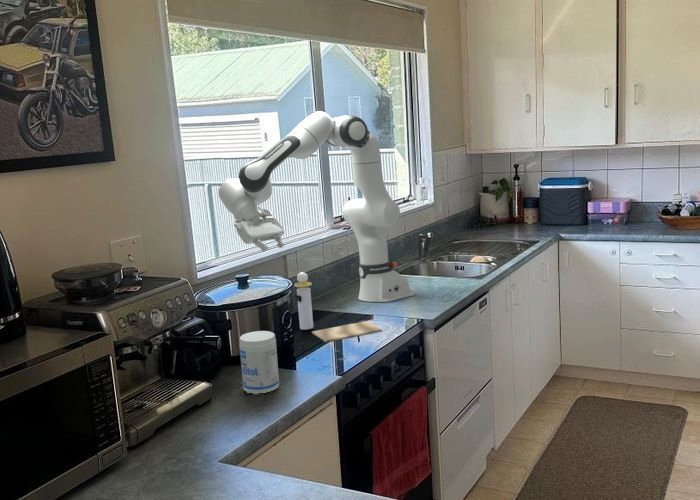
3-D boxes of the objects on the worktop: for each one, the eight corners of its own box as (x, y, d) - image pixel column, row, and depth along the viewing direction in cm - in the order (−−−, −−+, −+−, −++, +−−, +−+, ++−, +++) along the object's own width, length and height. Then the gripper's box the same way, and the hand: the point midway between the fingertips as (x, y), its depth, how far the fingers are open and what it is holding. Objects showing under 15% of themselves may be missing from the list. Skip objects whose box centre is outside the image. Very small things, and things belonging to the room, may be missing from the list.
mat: (366, 322, 238) (366, 321, 238) (381, 331, 227) (381, 329, 227) (312, 333, 231) (311, 331, 230) (325, 342, 220) (325, 340, 220)
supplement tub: (236, 393, 182) (231, 340, 179) (255, 380, 190) (250, 329, 188) (268, 397, 178) (263, 342, 175) (286, 384, 186) (281, 331, 184)
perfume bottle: (311, 326, 239) (306, 269, 235) (318, 329, 234) (313, 272, 230) (295, 329, 236) (290, 272, 233) (302, 333, 231) (297, 274, 228)
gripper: (236, 214, 229) (261, 245, 226) (273, 210, 247) (296, 239, 243) (226, 227, 232) (250, 258, 229) (263, 222, 250) (286, 250, 246)
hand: (274, 248), depth 236 cm, fingers open, 8 cm apart
